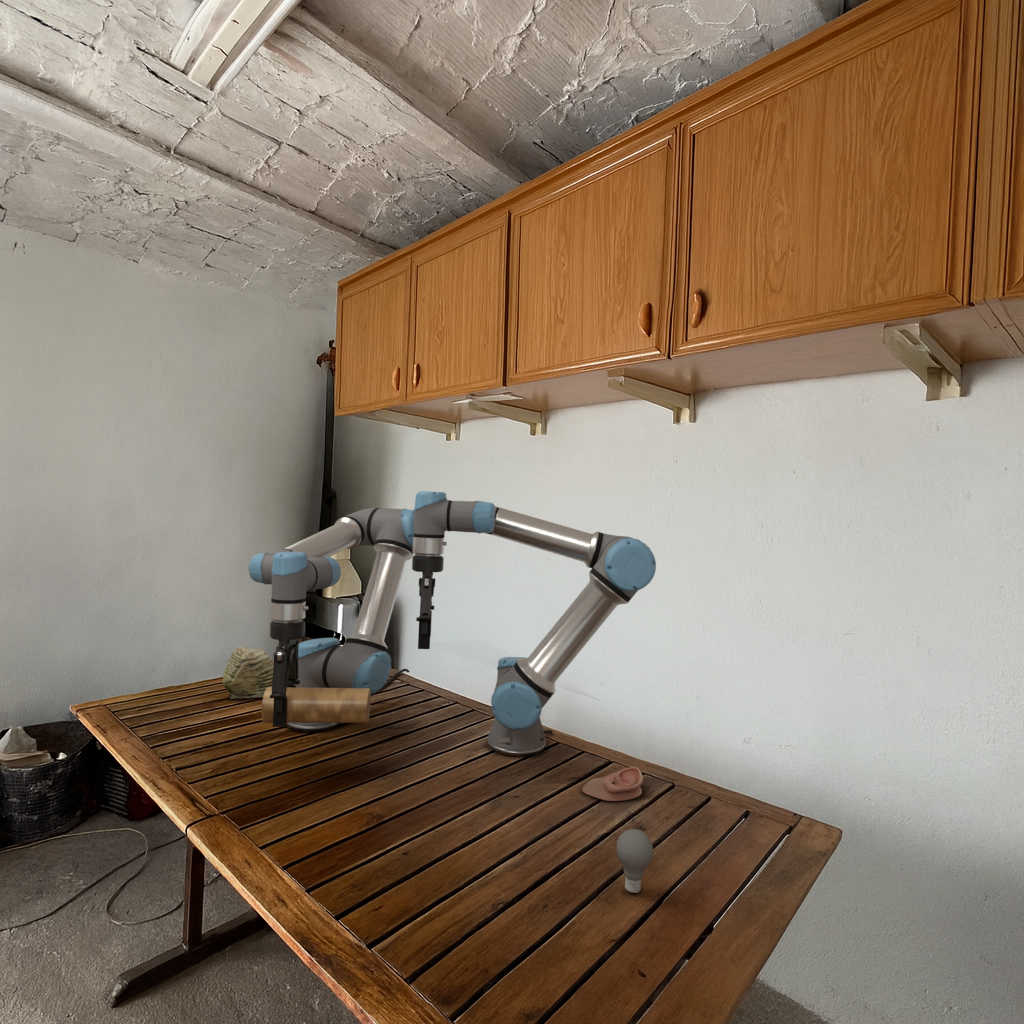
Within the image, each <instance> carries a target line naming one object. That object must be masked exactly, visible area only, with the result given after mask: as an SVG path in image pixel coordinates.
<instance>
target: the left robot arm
mask: <svg viewBox="0 0 1024 1024" xmlns="http://www.w3.org/2000/svg"><path fill="white" fill-rule="evenodd" d="M413 536H414V509H408V508H386V507H368V508H363V509H360V510H358V511H357V510H356V511H355V512H352V513H349V514H346V515H345V516H342V517H340V518H338V519H337V520H336V521H335V522H334V525H331V526H329V527H327V528H325V529H323V530H320V531H318V532H316V533H314V534H312V535H310V536H307V537H306V538H304V539H301V540H299V541H297V542H295V543H292V544H291V545H289V546H286V547H284V548H282V549H280V550H278V551H275V552H273V553H268V552H259V553H257V554H255V555H254V556H253V557H252V558H251V559H250V560H249V561H250V562H249V564H248V573H249V577H250V579H251V580H252V581H253V582H254V583H259V584H263V585H271V598H270V612H269V613H270V615H269V618H270V620H271V621H270V623H269V637H270V638H271V639H272V640H277V641H278V644H277V645H278V646H276V647H275V651H273V661H274V667H273V680H272V693H271V695H270V698H274V708H273V723H272V728H287V729H289V730H291V731H294V732H295V731H296V732H301V733H316V732H325V731H329V730H332V729H335V728H337V727H339V726H340V725H342V723H286V720H287V697H286V691H287V687H300V688H370V690H371V695H375V694H376V693H378V692H379V691H380V690H382V689H384V688H386V687H387V686H388V685H389V684H391V682H392V681H394V680H395V679H396V678H397V677H398V676H399V675H401V674H402V673H404V672H405V673H410V670H409V669H408V668H403V669H401V670H399V671H397V672H396V673H394V674H393V675H392V676H391V677H390V674H391V670H392V658H391V656H390V654H389V653H388V646H387V644H386V643H385V638H386V634H387V631H388V628H389V624H390V621H391V616H392V613H393V610H394V606H395V602H396V599H397V596H398V591H399V588H400V584H401V580H402V577H403V573H404V570H405V566H406V563H407V562H408V561H410V560H411V559H412V557H413V556H414V553H413ZM360 546H370V547H373V550H374V551H375V553H376V555H375V560H374V563H373V566H372V570H371V572H370V576H369V580H368V582H367V586H366V589H365V593H364V597H363V600H362V603H361V607H360V610H359V613H358V616H357V620H356V623H355V627H354V631H353V633H352V634H350V635H348V636H347V637H346V638H345V642H344V643H343V646H342V645H340V644H341V642H340V640H339V638H337V637H321V638H313V639H307V640H304V641H302V642H300V639H302V638H304V637H305V635H306V621H305V620H304V619H306V611H308V610H309V606H308V605H306V603H307V602H306V601H307V592H310V591H315V590H321V589H325V590H326V589H327V588H330V587H333V586H334V585H335V586H336V584H337V583H338V582H340V578H341V575H342V568H341V564H340V563H339V561H337V560H336V559H335V558H334V557H333V556H335V555H336V554H339V553H340V552H342V551H344V550H346V549H347V550H352V549H355V548H357V547H360ZM389 677H390V678H389Z"/></svg>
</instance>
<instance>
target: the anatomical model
mask: <svg viewBox="0 0 1024 1024" xmlns="http://www.w3.org/2000/svg"><path fill="white" fill-rule="evenodd" d="M643 782H644V775H643V773H642V771H641V770H640V769H639V768H638V767H637V766H630V767H625V768H623V769H620V770H617V771H615V772H613V773H610V774H608V775H605V776H604V777H596V778H595V777H594V778H592V779H590V780H588V781H587V782H586V783H585V784H584V785H583V786H582V788H581V792H582V793H583V794H585V795H587V796H590V797H593V798H595V799H598V800H602V801H606V802H619V801H621V802H622V801H628V800H633V799H635V798H638V797H640V796H641V795H642V793H643V789H642V787H641V786H642V784H643Z"/></svg>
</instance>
